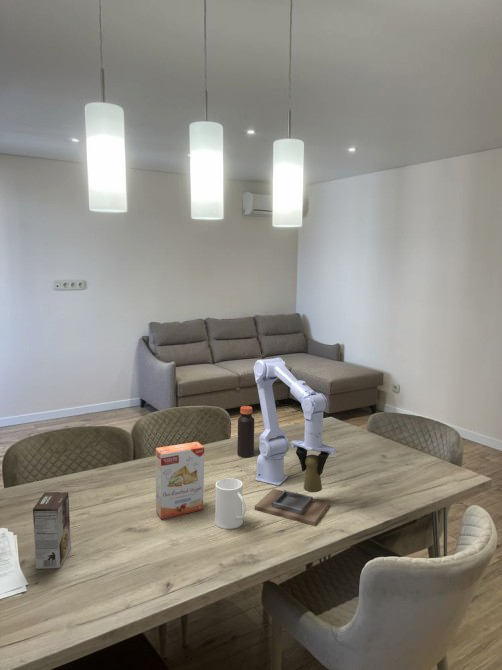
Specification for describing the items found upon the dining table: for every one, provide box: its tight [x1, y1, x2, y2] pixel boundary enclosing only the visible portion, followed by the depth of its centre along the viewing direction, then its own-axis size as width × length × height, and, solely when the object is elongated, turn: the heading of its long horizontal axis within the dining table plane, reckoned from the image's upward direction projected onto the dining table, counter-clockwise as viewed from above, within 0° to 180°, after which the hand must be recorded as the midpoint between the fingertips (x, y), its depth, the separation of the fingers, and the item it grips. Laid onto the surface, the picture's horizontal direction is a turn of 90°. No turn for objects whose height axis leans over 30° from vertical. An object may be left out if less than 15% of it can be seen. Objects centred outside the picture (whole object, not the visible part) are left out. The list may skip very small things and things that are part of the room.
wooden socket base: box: [254, 488, 330, 527], centre depth 151 cm, size 20×14×3 cm
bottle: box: [237, 405, 255, 458], centre depth 194 cm, size 7×7×20 cm
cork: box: [303, 454, 323, 493], centre depth 154 cm, size 6×6×11 cm
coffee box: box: [32, 491, 72, 570], centre depth 122 cm, size 9×6×16 cm
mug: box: [214, 477, 247, 530], centre depth 140 cm, size 12×8×12 cm
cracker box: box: [155, 441, 205, 520], centre depth 147 cm, size 14×6×21 cm, turn 118°
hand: (312, 471), depth 154 cm, fingers closed on cork, 5 cm apart
